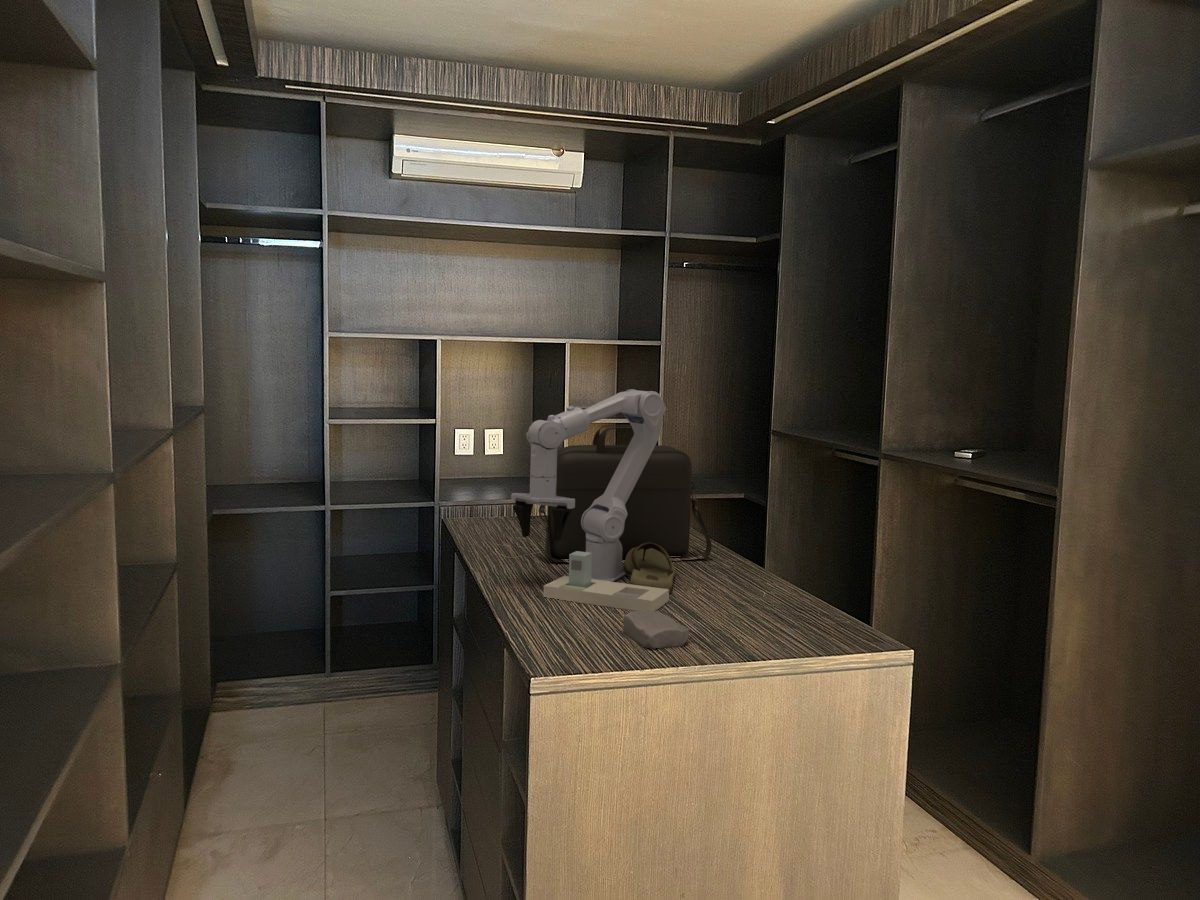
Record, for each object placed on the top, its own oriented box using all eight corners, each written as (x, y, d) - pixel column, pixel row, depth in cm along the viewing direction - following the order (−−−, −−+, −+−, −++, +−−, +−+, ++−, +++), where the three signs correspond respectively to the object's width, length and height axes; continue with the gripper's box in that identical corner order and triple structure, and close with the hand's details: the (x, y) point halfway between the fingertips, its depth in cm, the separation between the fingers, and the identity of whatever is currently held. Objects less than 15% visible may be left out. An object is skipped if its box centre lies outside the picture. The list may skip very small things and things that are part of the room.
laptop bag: (696, 550, 244) (701, 424, 240) (712, 561, 232) (717, 428, 228) (533, 553, 235) (536, 422, 232) (541, 565, 223) (544, 427, 219)
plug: (575, 592, 198) (576, 551, 197) (590, 594, 197) (592, 552, 196) (567, 597, 194) (568, 554, 193) (582, 599, 193) (583, 556, 192)
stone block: (663, 636, 176) (616, 630, 172) (669, 611, 176) (622, 605, 172) (693, 658, 165) (643, 653, 161) (699, 632, 165) (650, 626, 161)
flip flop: (624, 565, 226) (625, 531, 225) (673, 567, 225) (675, 533, 224) (621, 597, 196) (622, 558, 196) (677, 599, 196) (679, 560, 195)
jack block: (564, 586, 203) (564, 574, 202) (668, 601, 193) (669, 588, 193) (543, 597, 193) (543, 584, 193) (652, 613, 184) (652, 599, 184)
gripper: (504, 475, 200) (503, 537, 202) (566, 481, 195) (563, 545, 196) (520, 471, 207) (518, 532, 208) (579, 477, 201) (577, 539, 202)
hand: (541, 538), depth 202 cm, fingers open, 7 cm apart
